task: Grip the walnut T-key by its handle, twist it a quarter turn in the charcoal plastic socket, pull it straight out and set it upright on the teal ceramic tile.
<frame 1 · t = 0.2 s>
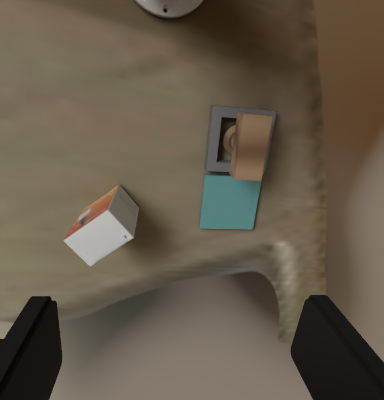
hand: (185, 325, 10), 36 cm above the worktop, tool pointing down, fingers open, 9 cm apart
socket: (237, 139, 44), on the worktop
small box: (111, 208, 46), on the worktop
t-key: (244, 143, 40), in the socket
tile: (228, 201, 48), on the worktop
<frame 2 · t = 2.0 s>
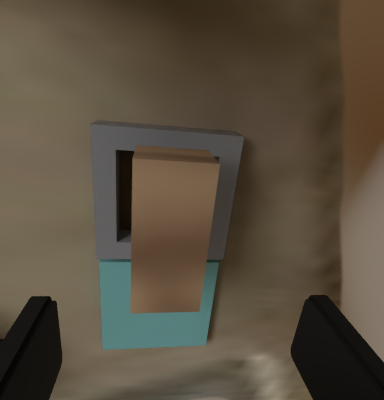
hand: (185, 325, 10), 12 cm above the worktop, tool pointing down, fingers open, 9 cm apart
socket: (165, 191, 21), on the worktop
t-key: (167, 212, 17), in the socket
tile: (158, 300, 25), on the worktop
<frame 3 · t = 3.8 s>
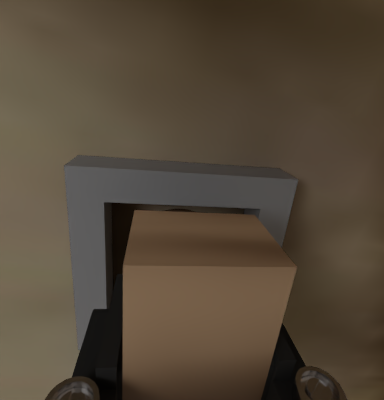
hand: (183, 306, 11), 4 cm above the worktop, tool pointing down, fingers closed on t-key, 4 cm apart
socket: (176, 249, 15), on the worktop
t-key: (182, 300, 11), in the socket, touching gripper
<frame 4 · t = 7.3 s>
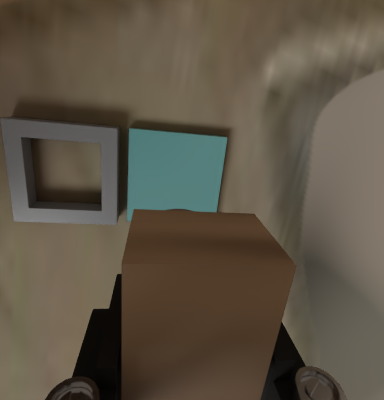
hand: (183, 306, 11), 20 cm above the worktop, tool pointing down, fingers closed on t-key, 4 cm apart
socket: (69, 171, 28), on the worktop
t-key: (182, 300, 11), point 20 cm above the worktop, touching gripper
tile: (174, 177, 30), on the worktop
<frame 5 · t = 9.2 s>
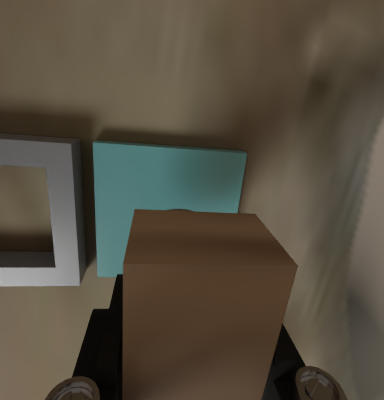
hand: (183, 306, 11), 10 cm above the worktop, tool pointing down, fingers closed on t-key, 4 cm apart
socket: (7, 207, 18), on the worktop
t-key: (183, 300, 11), point 9 cm above the worktop, touching gripper
tile: (167, 212, 20), on the worktop
when the fingers open (6 cm above the worktop, at t = 10.6 s): t-key stays where it is, resting on tile.
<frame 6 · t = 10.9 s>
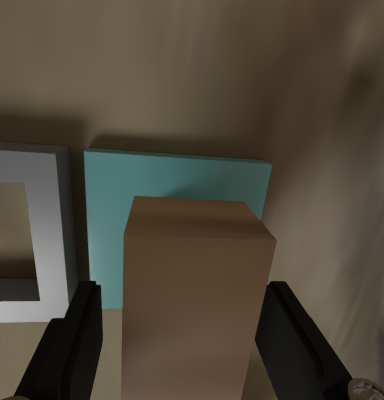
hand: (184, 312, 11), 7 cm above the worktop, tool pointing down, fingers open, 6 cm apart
t-key: (178, 285, 12), on the tile, point 5 cm above the worktop
tile: (174, 233, 17), on the worktop
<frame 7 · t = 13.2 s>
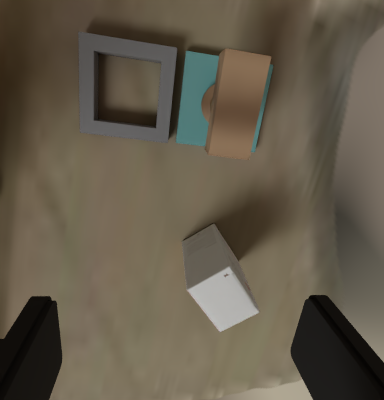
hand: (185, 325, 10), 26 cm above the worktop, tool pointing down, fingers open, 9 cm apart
socket: (129, 91, 31), on the worktop
small box: (210, 250, 40), on the worktop
t-key: (229, 106, 28), on the tile, point 5 cm above the worktop
tile: (221, 105, 32), on the worktop
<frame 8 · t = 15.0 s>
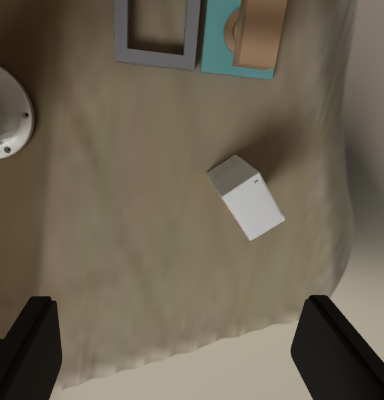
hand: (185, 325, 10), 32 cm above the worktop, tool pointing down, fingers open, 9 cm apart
socket: (157, 23, 34), on the worktop
small box: (232, 182, 43), on the worktop
t-key: (252, 25, 31), on the tile, point 5 cm above the worktop
tile: (240, 34, 35), on the worktop
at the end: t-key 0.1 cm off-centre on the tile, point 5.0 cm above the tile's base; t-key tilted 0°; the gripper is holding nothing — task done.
